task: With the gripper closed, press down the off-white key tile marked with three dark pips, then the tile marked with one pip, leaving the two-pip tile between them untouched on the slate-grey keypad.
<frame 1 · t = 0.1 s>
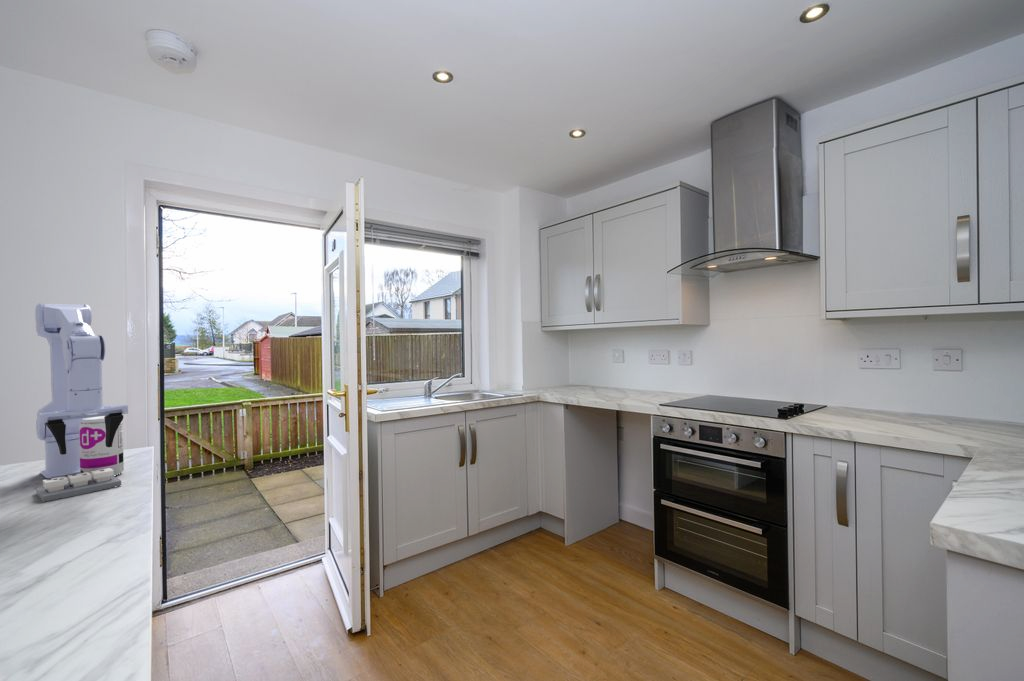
hand: (86, 450, 103), 10 cm above the countertop, tool pointing down, fingers open, 7 cm apart
tile one: (102, 475, 109), point 2 cm above the countertop, slide at 0.0 cm
tile three: (55, 484, 103), point 2 cm above the countertop, slide at 0.0 cm
keypad: (79, 489, 106), on the countertop
tile two: (79, 479, 106), point 2 cm above the countertop, slide at 0.0 cm
supplement can: (102, 476, 117), on the countertop
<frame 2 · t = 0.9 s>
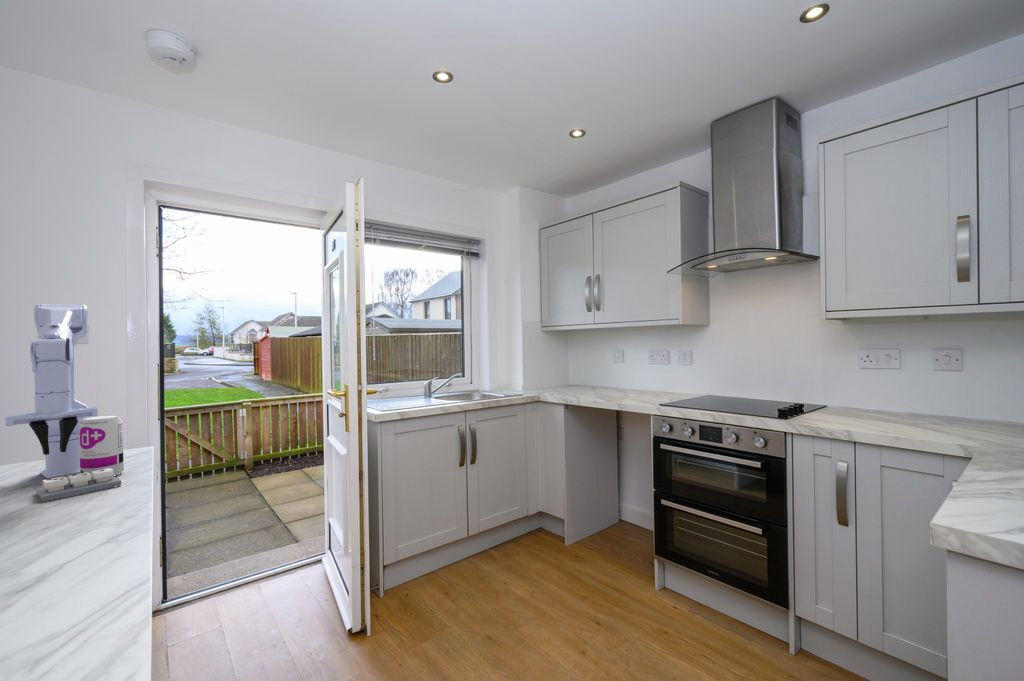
hand: (54, 452, 103), 9 cm above the countertop, tool pointing down, fingers closed
nothing on the countertop moved.
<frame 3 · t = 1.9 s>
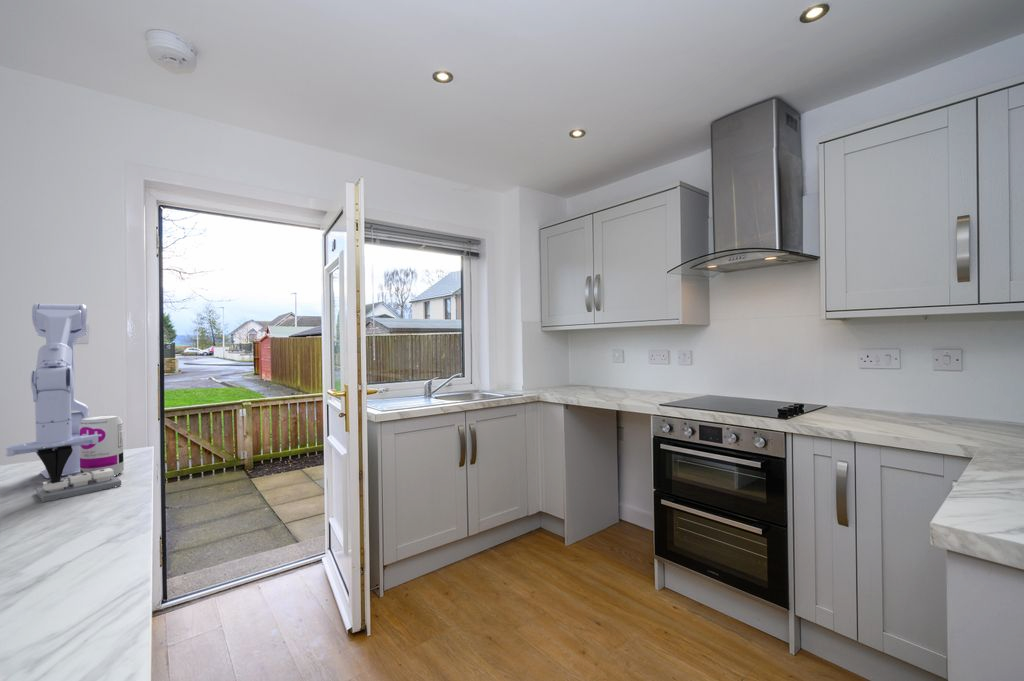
hand: (55, 481, 103), 3 cm above the countertop, tool pointing down, fingers closed, pressing on tile three
tile three: (55, 486, 103), point 2 cm above the countertop, slide at 0.5 cm, touching gripper
everything else where it was.
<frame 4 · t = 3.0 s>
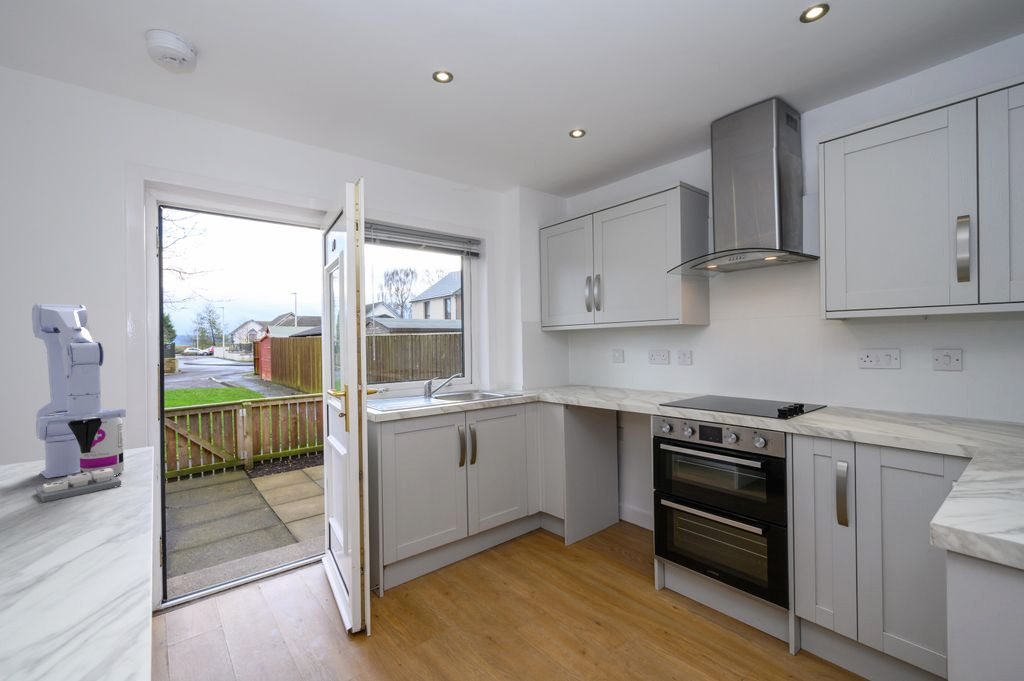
hand: (85, 452, 107), 8 cm above the countertop, tool pointing down, fingers closed
tile three: (55, 488, 103), point 1 cm above the countertop, slide at 1.0 cm
everything else where it was.
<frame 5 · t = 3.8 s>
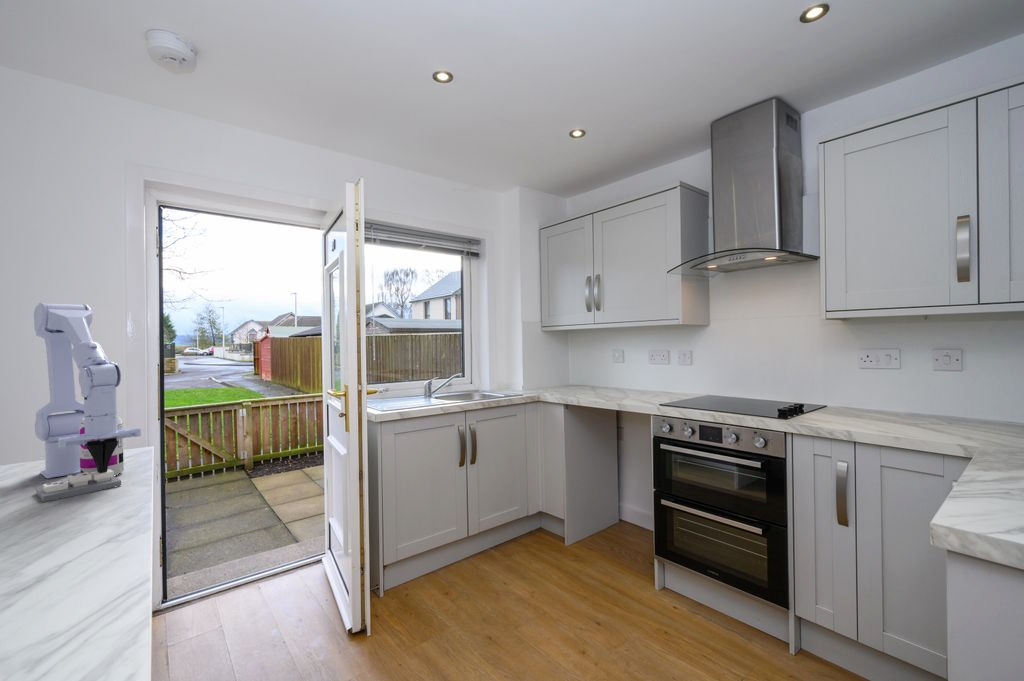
hand: (102, 471, 109), 3 cm above the countertop, tool pointing down, fingers closed, pressing on tile one
tile one: (102, 476, 109), point 2 cm above the countertop, slide at 0.3 cm, touching gripper
everything else where it was.
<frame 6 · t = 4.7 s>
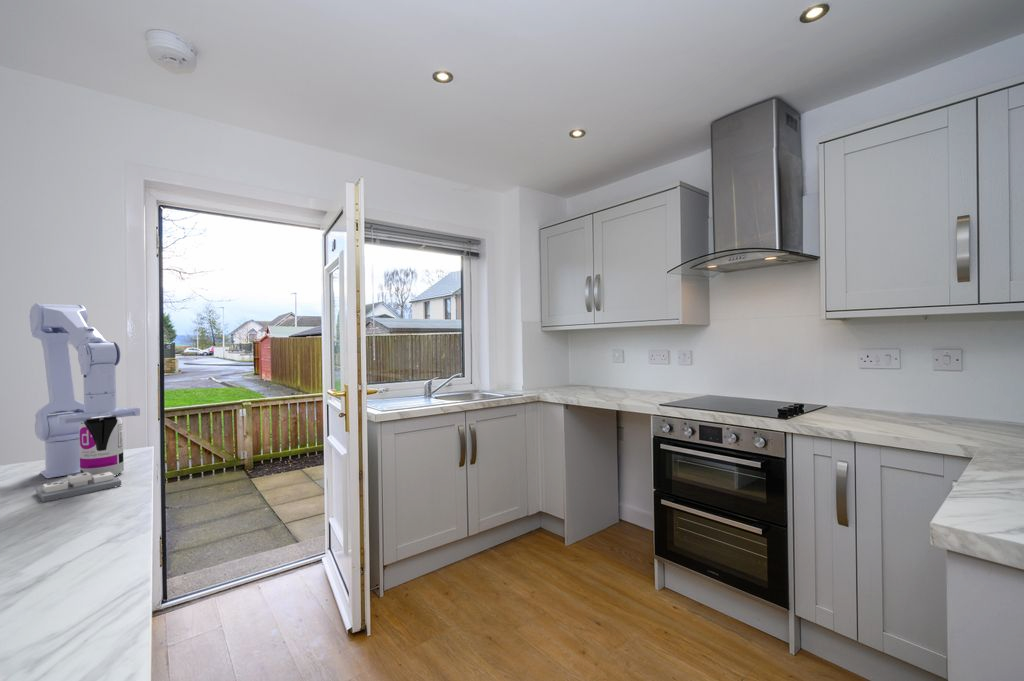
hand: (101, 450, 109), 8 cm above the countertop, tool pointing down, fingers closed
tile one: (102, 479, 109), point 1 cm above the countertop, slide at 1.0 cm
everything else where it was.
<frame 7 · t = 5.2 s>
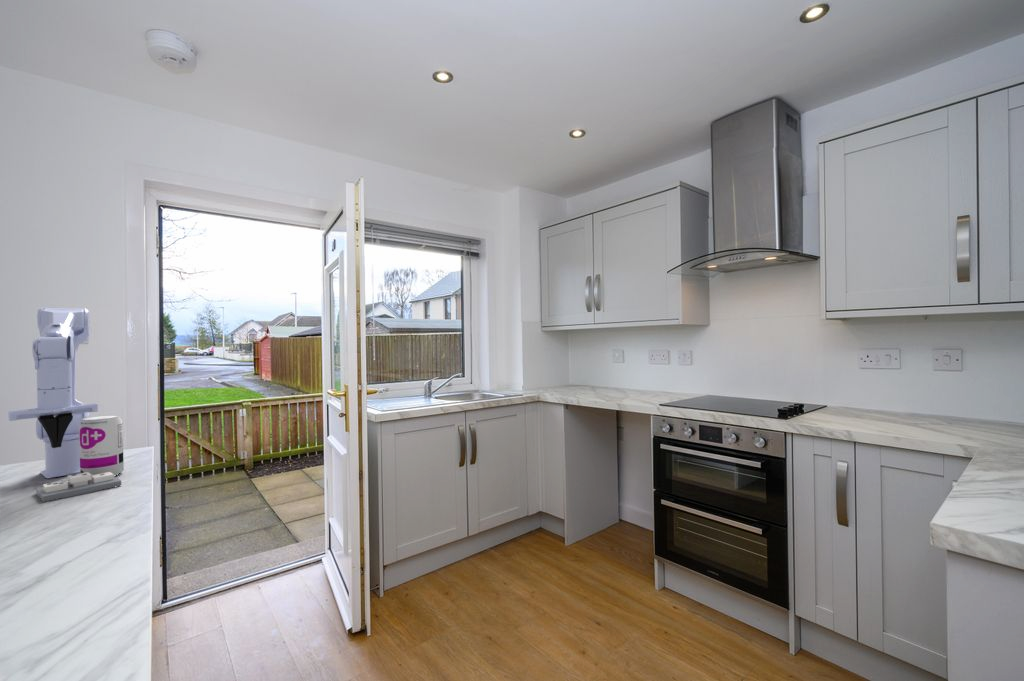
hand: (56, 447, 106), 10 cm above the countertop, tool pointing down, fingers closed
nothing on the countertop moved.
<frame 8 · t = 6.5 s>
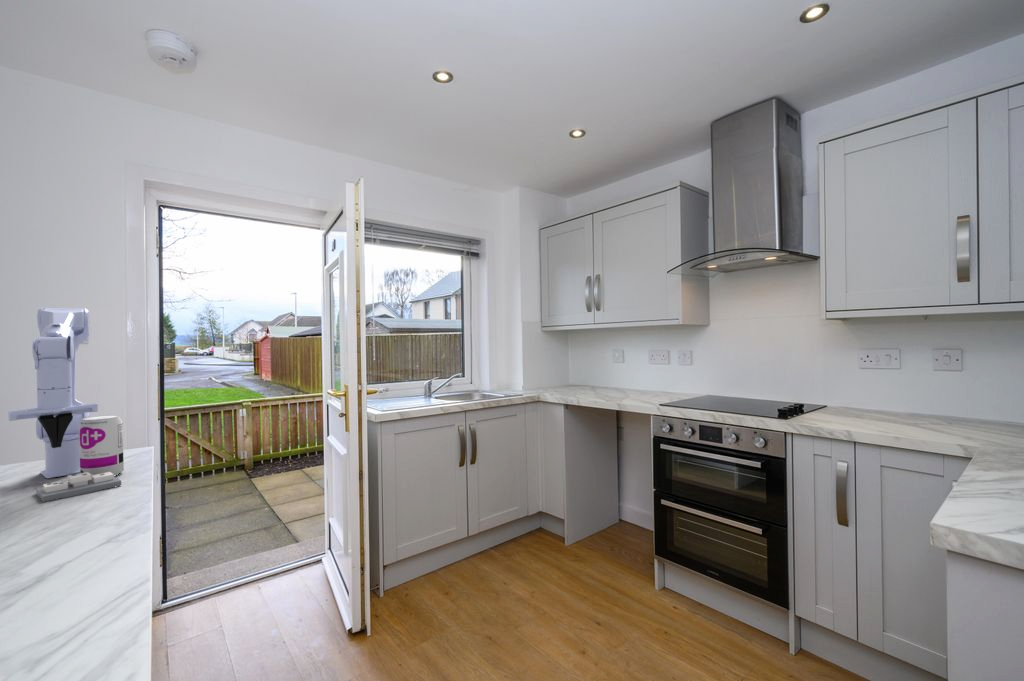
hand: (56, 447, 106), 10 cm above the countertop, tool pointing down, fingers closed
nothing on the countertop moved.
at the end: tile three slide at 1.0 cm; tile one slide at 1.0 cm; tile two slide at 0.0 cm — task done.
